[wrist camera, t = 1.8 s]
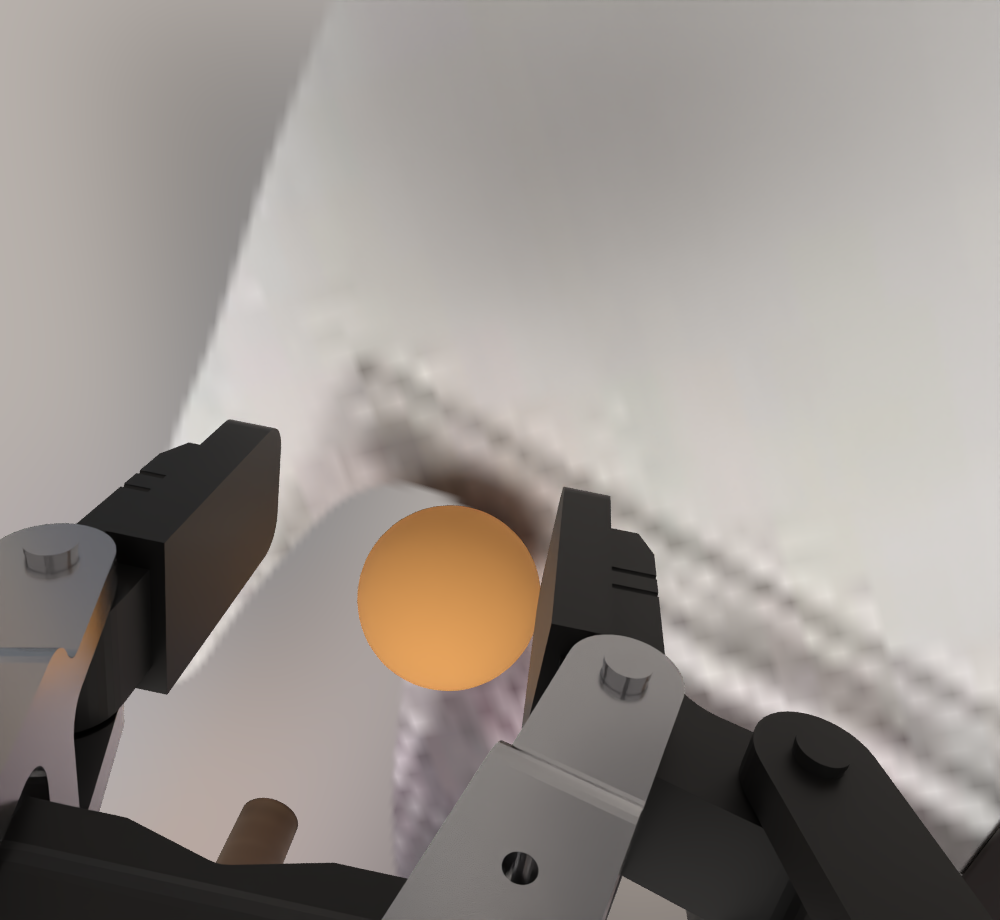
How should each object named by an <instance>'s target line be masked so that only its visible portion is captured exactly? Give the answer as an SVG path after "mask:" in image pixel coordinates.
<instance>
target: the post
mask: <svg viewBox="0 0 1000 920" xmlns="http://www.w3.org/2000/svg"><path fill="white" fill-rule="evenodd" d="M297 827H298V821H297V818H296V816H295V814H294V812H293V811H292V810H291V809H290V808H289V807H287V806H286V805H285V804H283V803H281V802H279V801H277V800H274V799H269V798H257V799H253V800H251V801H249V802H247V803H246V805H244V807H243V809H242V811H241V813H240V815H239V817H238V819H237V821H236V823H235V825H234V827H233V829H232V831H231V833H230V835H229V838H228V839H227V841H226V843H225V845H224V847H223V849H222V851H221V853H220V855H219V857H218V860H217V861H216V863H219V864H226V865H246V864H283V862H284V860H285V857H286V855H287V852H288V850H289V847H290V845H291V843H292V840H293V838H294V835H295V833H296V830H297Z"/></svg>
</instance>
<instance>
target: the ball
mask: <svg viewBox="0 0 1000 920" xmlns="http://www.w3.org/2000/svg"><path fill="white" fill-rule="evenodd" d="M539 593H540V583H539V577H538V573H537V570H536V566H535V563H534V561H533V559H532V557H531V555H530V553H529V551H528V549H527V548H526V546H525V545H524V543H523V542H522V540H521V539H520V538H519V537H518V536H517V535H516V534H515V532H513V531H512V530H511V529H510V528H509V527H508V526H507V525H505V524H504V523H503V522H501V521H500V520H498V519H497V518H495V517H493V516H491V515H490V514H488V513H485V512H483V511H480V510H477V509H473V508H470V507H464V506H453V505H447V506H436V507H431V508H427V509H423V510H420V511H418V512H415V513H413V514H411V515H409V516H407V517H405V518H403V519H401V520H400V521H398V522H397V523H396V524H394V525H393V526H392V527H391V528H390V529H389V530H387V531H386V532H385V533H384V534H383V535H382V536H381V537H380V539H379V540H378V541H377V543H376V544H375V545H374V547H373V548H372V550H371V551H370V553H369V555H368V557H367V559H366V561H365V564H364V567H363V569H362V572H361V575H360V580H359V586H358V600H357V601H358V602H357V603H358V612H359V619H360V622H361V626H362V629H363V632H364V634H365V637H366V639H367V641H368V643H369V645H370V646H371V648H372V650H373V651H374V653H375V654H376V655H377V657H378V658H379V659H380V660H381V662H383V664H384V665H386V667H387V668H389V669H390V670H391V671H392V672H394V673H395V674H396V675H398V676H400V677H401V678H403V679H405V680H407V681H409V682H411V683H413V684H415V685H418V686H421V687H424V688H428V689H433V690H442V691H456V690H464V689H469V688H473V687H476V686H479V685H481V684H484V683H486V682H488V681H491V680H492V679H494V678H496V677H497V676H499V675H500V674H501V673H503V672H504V671H505V670H507V669H508V668H509V667H510V666H511V665H512V664H513V663H514V662H515V661H516V660H517V659H518V658H519V657H520V655H521V654H522V653H523V651H524V650H525V649H526V647H527V645H528V643H529V641H530V639H531V637H532V635H533V633H534V627H535V619H536V611H537V605H538V599H539Z"/></svg>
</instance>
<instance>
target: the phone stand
mask: <svg viewBox="0 0 1000 920" xmlns="http://www.w3.org/2000/svg"><path fill="white" fill-rule="evenodd" d="M962 878H963V879H964V880H965V882H966V883H967V884H968V886H969V887H970V889H971V890H972V891H973V893H974V894H975V895H976V897H977V898H978V899H979V901H980V902H981V904H982V905H983V906H984V908H985V909H986V910H987V912H988V913H989V915H990V916H991V917H992V919H993V920H1000V827H999V828H998V830H997V831H996V832H995V833H994V835H993V836H992V837H991V839H990V840H989V841H988V843H987V844H986V845H985V847H984V848H983V849H982V850H981V852H980V853H979V854H978V856H977V857H976V858H975V860H974V861H973V862H972V864H971V865H970V866H969V867H968V869H967V870H966V871H965V873H964V874H963V875H962Z"/></svg>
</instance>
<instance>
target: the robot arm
mask: <svg viewBox="0 0 1000 920" xmlns="http://www.w3.org/2000/svg"><path fill="white" fill-rule="evenodd" d="M280 455H281V437H280V433H279V431H278V430H277V429H276V428H271V427H266V426H261V425H256V424H251V423H246V422H241V421H236V420H227V421H226V422H225V423H224V424H222V425H221V426H220V427H219V428H218V429H217V430H216V431H215V432H214V433H212V434H211V435H210V436H209V437H208V438H207V439H206V440H205V441H204V442H203V443H201V444H200V445H198V444H193V443H187V444H184V445H181V446H179V447H176V448H174V449H171V450H168V451H166V452H163V453H160V454H159V455H158V456H156V457H155V458H154V459H153V460H152V461H150V462H149V463H148V464H147V465H146V466H144V467H143V468H142V469H141V470H140V473H139V474H137V473H136V474H135V475H134V476H133V477H131V478H130V479H129V480H128V481H127V482H125V484H124V487H120V488H119V489H117V490H116V491H115V492H114V493H113V494H111V495H110V496H109V497H108V498H107V499H105V500H104V501H103V502H102V503H101V504H100V505H98V506H97V507H96V508H95V509H93V510H92V511H91V512H90V513H89V514H88V515H86V516H85V517H84V518H83V519H82V520H81V521H79V522H78V523H77V524H69V523H58V524H57V523H56V524H45V525H39V526H34V527H30V528H26V529H22V530H19V531H17V532H14V533H12V534H10V535H7V536H5V537H3V538H2V539H0V920H607V918H608V915H609V912H610V909H611V907H612V904H613V901H614V898H615V895H616V893H617V890H618V887H619V884H620V881H621V879H622V876H624V877H626V878H627V879H629V880H631V881H633V882H635V883H637V884H639V885H641V886H642V887H644V888H646V889H648V890H650V891H652V892H654V893H656V894H657V895H659V896H661V897H663V898H665V899H667V900H669V901H670V902H672V903H674V904H676V905H678V906H680V907H682V908H684V909H686V912H687V919H688V920H993V919H992V917H991V916H990V915H989V913H988V912H987V910H986V909H985V908H984V906H983V905H982V904H981V902H980V901H979V899H978V898H977V897H976V895H975V894H974V893H973V891H972V890H971V889H970V887H969V886H968V884H967V883H966V882H965V880H964V879H963V878H962V876H961V875H960V873H959V872H958V871H957V869H956V868H955V867H954V865H953V864H952V863H951V861H950V860H949V858H948V857H947V856H946V854H945V853H944V852H943V850H942V849H941V847H940V846H939V845H938V843H937V842H936V841H935V839H934V838H933V837H932V835H931V834H930V832H929V831H928V830H927V828H926V827H925V826H924V824H923V823H922V821H921V820H920V819H919V817H918V816H917V815H916V813H915V812H914V811H913V809H912V808H911V806H910V805H909V804H908V802H907V801H906V800H905V798H904V797H903V795H902V794H901V793H900V791H899V790H898V789H897V787H896V786H895V784H894V783H893V782H892V780H891V779H890V778H889V776H888V775H887V774H886V772H885V771H884V769H883V768H882V767H881V765H880V764H879V763H878V761H877V760H876V758H875V757H874V756H873V755H872V754H871V752H870V751H869V750H868V749H867V748H866V747H865V746H864V745H863V744H862V743H861V742H860V741H859V740H857V739H856V738H855V737H853V736H852V735H851V734H850V733H848V732H846V731H845V730H843V729H842V728H840V727H838V726H836V725H835V724H833V723H831V722H829V721H826V720H824V719H821V718H819V717H816V716H812V715H809V714H805V713H799V712H788V711H787V712H777V713H773V714H770V715H768V716H766V717H764V718H763V719H762V720H760V721H759V722H758V724H757V726H756V727H755V729H754V732H751V731H749V730H747V729H745V728H742V727H740V726H738V725H736V724H733V723H731V722H729V721H727V720H724V719H722V718H720V717H718V716H716V715H714V714H712V713H710V712H708V711H707V710H705V709H703V708H702V707H700V706H699V705H697V704H696V703H695V702H693V701H692V700H691V699H689V698H688V697H687V696H686V695H685V694H684V693H685V683H684V680H683V677H682V675H681V673H680V671H679V669H678V668H677V667H676V666H675V664H674V663H673V662H672V661H671V660H670V659H669V658H668V657H667V656H665V651H664V642H663V633H662V623H661V614H660V605H659V597H658V586H657V580H656V568H655V558H654V554H653V552H652V551H651V550H650V548H649V547H648V546H647V544H646V543H645V542H644V540H643V539H642V538H641V536H640V535H639V534H637V533H632V532H627V531H622V530H617V529H612V528H611V500H610V496H608V495H603V494H598V493H593V492H588V491H583V490H578V489H573V488H568V487H563V490H562V494H561V497H560V502H559V506H558V511H557V515H556V519H555V524H554V528H553V533H552V537H551V542H550V546H549V551H548V555H547V560H546V564H545V568H544V573H543V578H542V583H541V588H540V593H539V599H538V605H537V611H536V619H535V627H534V635H533V643H532V651H531V659H530V667H529V675H528V683H527V691H526V699H525V707H524V715H523V723H522V730H521V731H520V733H519V734H518V736H517V738H516V739H515V741H514V743H513V744H512V745H511V744H509V743H507V742H504V741H502V740H501V741H499V742H498V743H496V744H495V746H494V747H493V748H492V749H491V751H490V752H489V754H488V755H487V757H486V758H485V760H484V761H483V763H482V764H481V766H480V767H479V769H478V771H477V772H476V774H475V775H474V777H473V778H472V780H471V781H470V783H469V785H468V786H467V788H466V789H465V791H464V792H463V794H462V795H461V797H460V799H459V800H458V802H457V803H456V805H455V806H454V808H453V809H452V811H451V813H450V814H449V816H448V817H447V819H446V820H445V822H444V823H443V825H442V827H441V828H440V830H439V831H438V833H437V834H436V836H435V837H434V839H433V841H432V842H431V844H430V845H429V847H428V848H427V850H426V851H425V853H424V855H423V856H422V858H421V859H420V861H419V862H418V864H417V865H416V867H415V869H414V870H413V872H412V873H411V875H410V876H409V878H408V879H406V878H401V877H397V876H392V875H388V874H383V873H378V872H374V871H369V870H364V869H359V868H355V867H351V866H346V865H341V864H337V863H301V864H246V865H226V864H219V863H215V862H212V861H210V860H208V859H206V858H203V857H202V856H200V855H198V854H196V853H194V852H192V851H190V850H188V849H186V848H184V847H182V846H181V845H179V844H177V843H175V842H173V841H171V840H169V839H167V838H165V837H163V836H161V835H159V834H157V833H155V832H153V831H152V830H150V829H148V828H146V827H144V826H142V825H140V824H138V823H136V822H134V821H132V820H130V819H128V818H125V817H120V816H116V815H111V814H107V813H102V812H99V811H100V807H101V804H102V800H103V797H104V793H105V790H106V786H107V783H108V779H109V776H110V772H111V769H112V765H113V762H114V758H115V755H116V751H117V748H118V744H119V741H120V737H121V734H122V730H123V726H124V705H123V704H124V702H125V701H126V700H127V698H128V697H129V696H130V694H131V693H132V692H133V691H134V689H135V688H139V689H143V690H148V691H152V692H157V693H162V694H168V693H169V691H170V690H171V688H172V687H173V686H174V684H175V683H176V681H177V680H178V679H179V677H180V676H181V674H182V673H183V672H184V670H185V669H186V667H187V666H188V664H189V663H190V662H191V660H192V659H193V657H194V656H195V655H196V653H197V652H198V650H199V649H200V648H201V646H202V645H203V643H204V642H205V640H206V639H207V638H208V636H209V635H210V633H211V632H212V631H213V629H214V628H215V626H216V625H217V624H218V622H219V621H220V619H221V618H222V616H223V615H224V614H225V612H226V611H227V609H228V608H229V607H230V605H231V604H232V602H233V601H234V600H235V598H236V597H237V595H238V594H239V592H240V591H241V590H242V588H243V587H244V585H245V584H246V583H247V581H248V580H249V578H250V577H251V576H252V574H253V573H254V571H255V570H256V568H257V567H258V566H259V564H260V563H261V561H262V560H263V559H264V557H265V556H266V554H267V552H268V550H269V548H270V545H271V543H272V540H273V536H274V533H275V528H276V522H277V512H278V493H279V474H280Z"/></svg>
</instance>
